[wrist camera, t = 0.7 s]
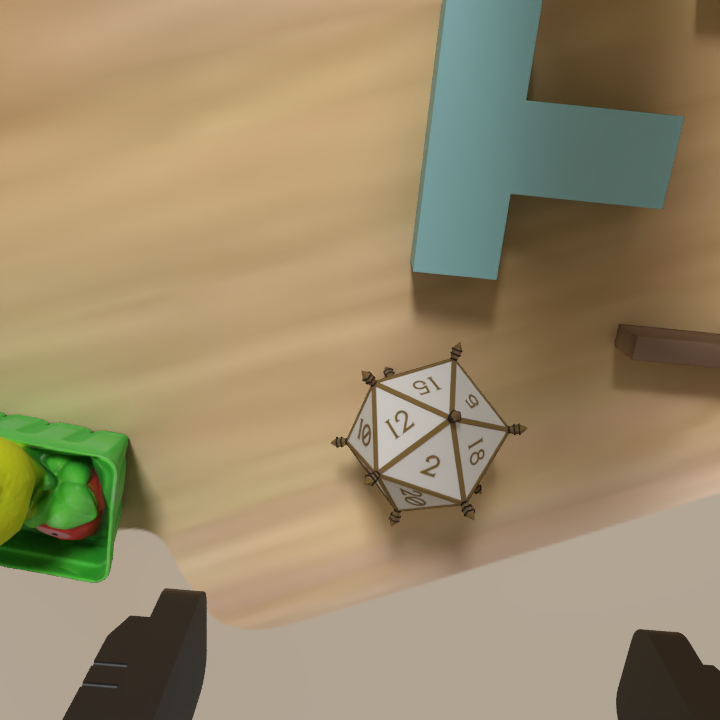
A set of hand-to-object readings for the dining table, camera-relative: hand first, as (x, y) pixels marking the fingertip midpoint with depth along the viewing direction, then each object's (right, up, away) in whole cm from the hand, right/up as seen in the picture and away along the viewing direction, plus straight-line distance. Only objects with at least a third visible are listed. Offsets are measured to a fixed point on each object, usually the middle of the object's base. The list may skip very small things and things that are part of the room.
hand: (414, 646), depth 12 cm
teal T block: (+8, +16, +20) cm, 26 cm away
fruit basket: (-19, 0, +25) cm, 32 cm away
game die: (+2, +3, +24) cm, 24 cm away
